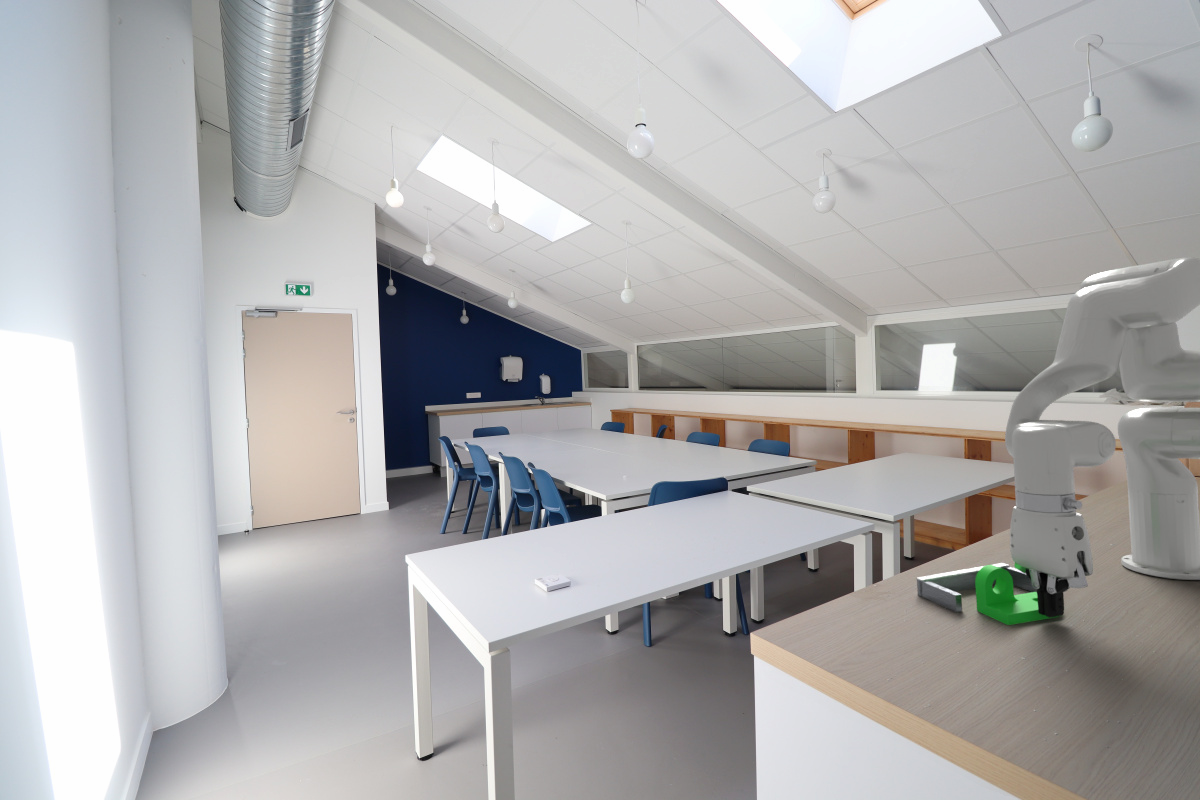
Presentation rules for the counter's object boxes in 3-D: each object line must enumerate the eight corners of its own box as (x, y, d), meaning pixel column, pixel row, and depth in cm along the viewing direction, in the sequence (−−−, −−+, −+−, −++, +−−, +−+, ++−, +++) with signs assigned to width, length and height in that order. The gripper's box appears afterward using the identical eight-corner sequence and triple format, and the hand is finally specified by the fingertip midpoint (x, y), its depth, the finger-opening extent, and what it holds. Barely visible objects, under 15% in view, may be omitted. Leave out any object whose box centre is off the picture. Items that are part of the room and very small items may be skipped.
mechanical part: (1008, 626, 89) (1005, 578, 89) (977, 612, 95) (974, 566, 95) (1070, 616, 91) (1067, 568, 91) (1035, 602, 97) (1033, 558, 97)
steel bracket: (1003, 579, 108) (1002, 562, 108) (1048, 594, 99) (1047, 576, 99) (917, 594, 103) (916, 577, 103) (956, 612, 95) (955, 593, 95)
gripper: (1115, 508, 82) (1122, 629, 82) (1018, 491, 97) (1024, 594, 97) (1076, 514, 80) (1083, 638, 81) (983, 496, 95) (990, 601, 95)
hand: (1051, 614), depth 89 cm, fingers closed
